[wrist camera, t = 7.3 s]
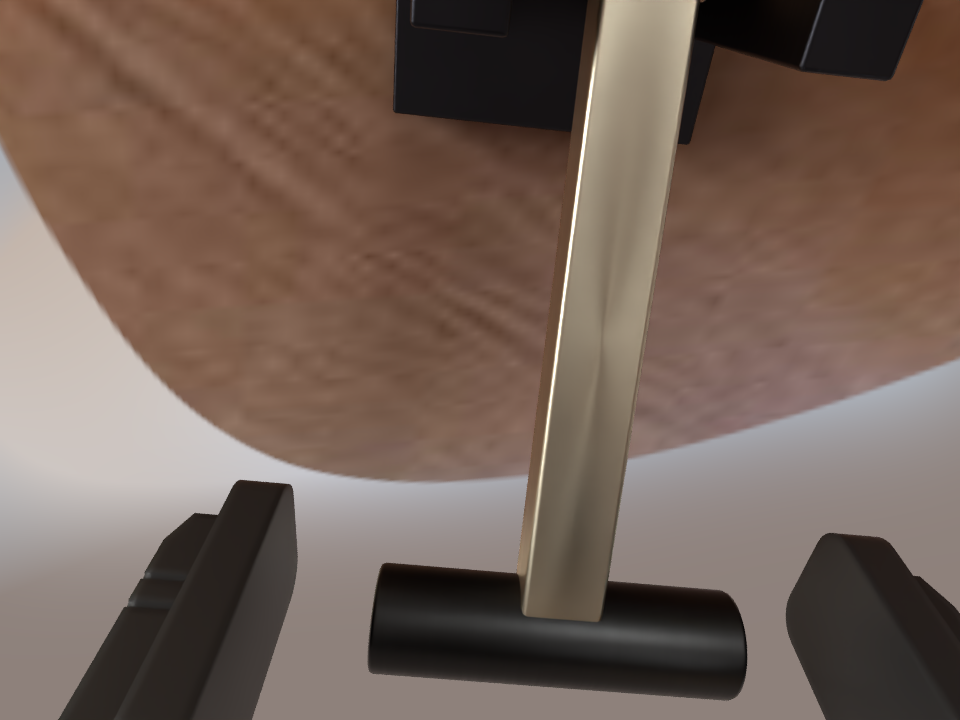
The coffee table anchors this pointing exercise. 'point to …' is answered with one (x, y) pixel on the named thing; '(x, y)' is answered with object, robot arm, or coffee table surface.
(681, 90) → the lever
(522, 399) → the coffee table surface
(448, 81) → the bracket
